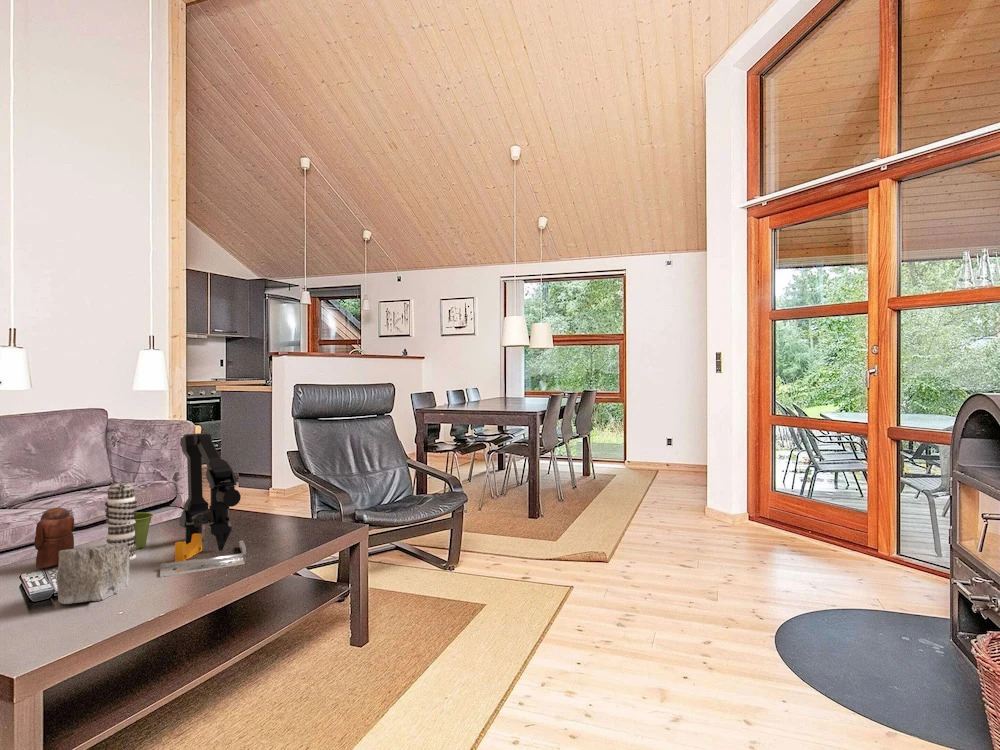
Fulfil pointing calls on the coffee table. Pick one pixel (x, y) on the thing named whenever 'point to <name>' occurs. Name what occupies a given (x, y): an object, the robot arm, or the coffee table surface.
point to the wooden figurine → (53, 536)
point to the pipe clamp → (188, 548)
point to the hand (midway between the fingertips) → (219, 547)
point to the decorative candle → (121, 516)
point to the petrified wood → (92, 573)
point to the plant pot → (141, 528)
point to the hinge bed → (203, 563)
